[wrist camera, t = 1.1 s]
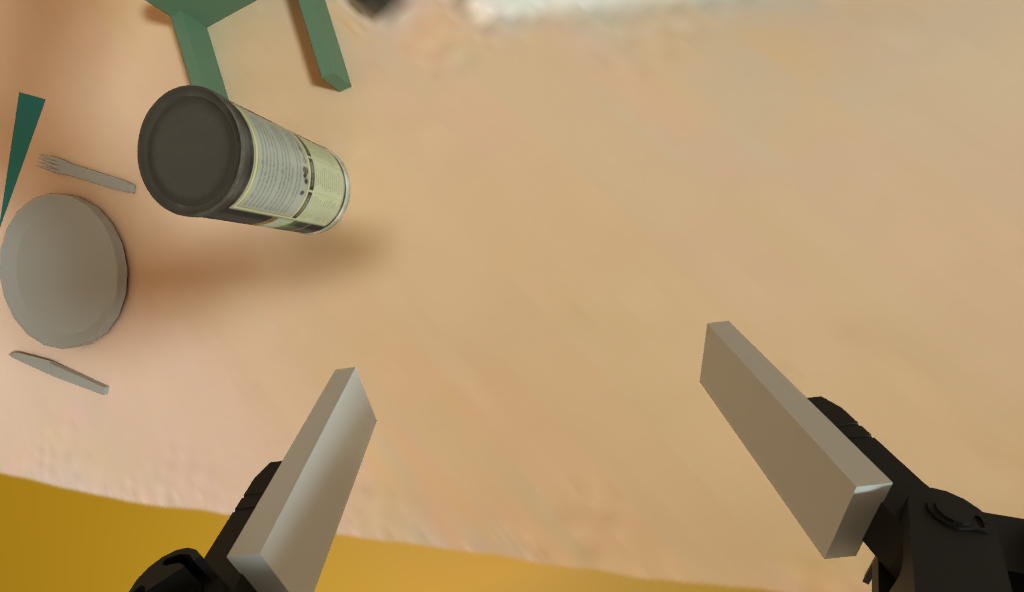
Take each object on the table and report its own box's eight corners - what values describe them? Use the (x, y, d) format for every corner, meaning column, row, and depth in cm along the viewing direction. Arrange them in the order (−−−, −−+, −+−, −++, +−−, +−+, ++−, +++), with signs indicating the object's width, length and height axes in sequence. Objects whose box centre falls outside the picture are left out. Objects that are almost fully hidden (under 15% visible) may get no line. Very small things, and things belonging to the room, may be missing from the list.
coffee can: (297, 251, 45) (170, 239, 32) (258, 175, 46) (117, 131, 32) (366, 205, 43) (264, 171, 30) (325, 127, 44) (205, 57, 30)
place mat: (22, 84, 53) (-2, 75, 51) (200, 131, 48) (181, 124, 46) (-24, 389, 58) (-48, 393, 55) (135, 462, 53) (115, 470, 50)
